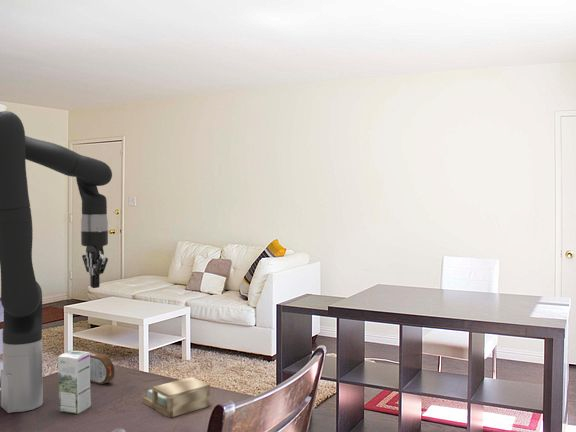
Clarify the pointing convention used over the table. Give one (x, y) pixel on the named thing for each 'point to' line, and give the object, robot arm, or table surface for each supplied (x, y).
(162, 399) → the panel
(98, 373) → the tin
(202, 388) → the beige forked block
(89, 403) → the syrup box
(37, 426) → the table surface
